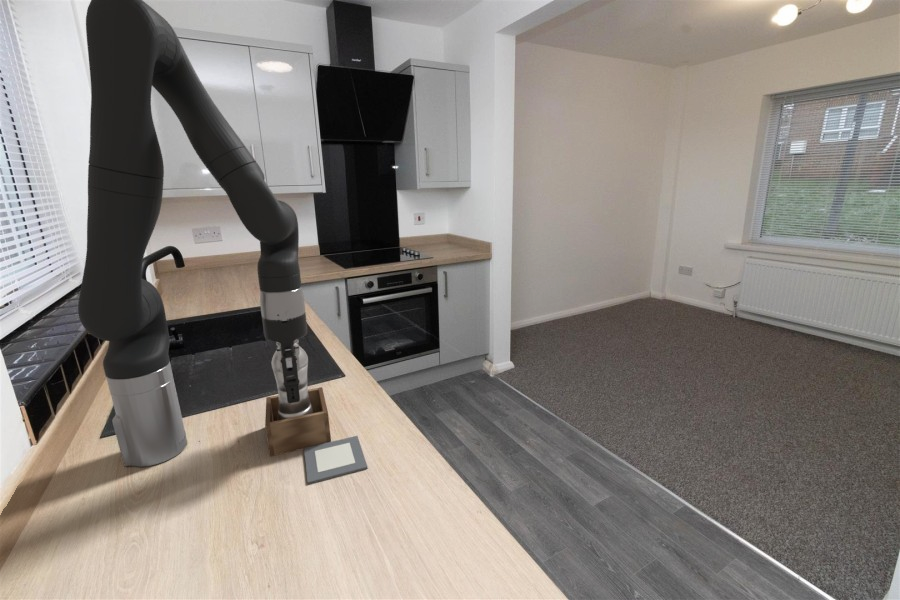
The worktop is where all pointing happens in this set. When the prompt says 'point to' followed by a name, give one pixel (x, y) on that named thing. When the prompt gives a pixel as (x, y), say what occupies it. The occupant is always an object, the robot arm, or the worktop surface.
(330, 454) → the mat
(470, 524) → the worktop surface
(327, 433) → the crate
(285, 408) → the plastic bottle
